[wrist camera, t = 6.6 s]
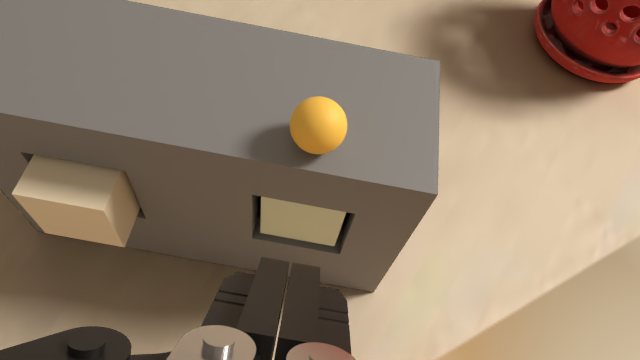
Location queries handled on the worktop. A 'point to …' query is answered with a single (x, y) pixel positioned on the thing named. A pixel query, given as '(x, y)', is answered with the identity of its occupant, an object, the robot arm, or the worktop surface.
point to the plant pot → (592, 37)
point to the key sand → (78, 200)
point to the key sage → (300, 221)
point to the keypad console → (224, 128)
